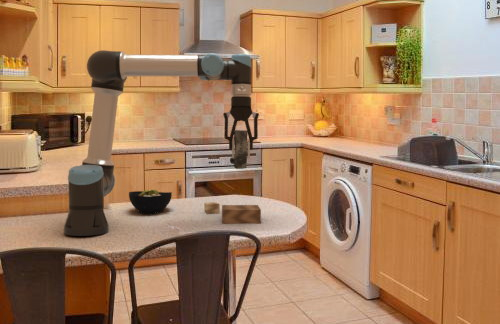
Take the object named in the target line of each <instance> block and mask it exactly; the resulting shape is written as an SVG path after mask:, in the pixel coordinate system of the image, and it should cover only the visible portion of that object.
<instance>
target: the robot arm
mask: <svg viewBox="0 0 500 324" xmlns="http://www.w3.org/2000/svg"><path fill="white" fill-rule="evenodd" d="M86 69H87V74H88V75H89V77H90V78H91V85H90V89H91V90H92V92H93V93H94V98H93V106H92V114H91V123H90V130H89V140H88V147H87V155H86V158H84V159H82V163H81V165H75V166H73V167H70V168H69V170H68V174H67V180H68V214H67V217H66V220H65V221H64V222H65V223H64V226H63V234H64V235H67V236H77V237H80V236H81V237H82V236H84V237H85V236H98V235H103V234H107V233H108V232H109V223H108V220H107V217H106V214H105V211H104V197H106V196H108V194H110V193H111V192H112V191H113V189H114V187H115V183H116V178H115V175H114V169H115V163H114V162H113V161H112V153H113V152H112V151H113V143H114V136H115V135H114V134H115V127H116V117H117V111H118V110H117V109H118V101H119V96H121V95H122V94H123V93H124V87H125V83H126V81H127V79H128V77H199V79H200V80H202V81H231V85H230V90H231V91H230V93H231V96H232V97H231V98H230V110H229V111H227V112H224V113H223V118H224V135H223V136H224V137H223V139H225V140H227V141H228V149H229V150H231V158H232V159H234V154H235V145H234V131H235V130H236V128H237V124H238V122H244V124H245V128H246V131H247V138H248V140H247V154H248V156H247V159H251V155H250V154H251V151H250V150H253V148H254V141H256V140H257V139H258V134H259V133H258V132H259V131H258V119H259V116H260V114H259V112H255V111H253V109H252V97H251V95H252V57H251V56H250V55H249V54H245V53H244V54H243V53H235V54H231V57H230V59H227V60H226V59H223V58H222V56H220V55H219V54H217V53H213V52H211V53H207V54H127V53H126V52H124V51H122V50H121V51H116V50H106V49H104V50H98V51H95V52H94V53H92V54H91V55H90V56H89V57H88V59H87V63H86ZM230 116H231V117H232V118H233V124H232V127H231V131H230V134H228V133H229V118H230ZM251 116H252V118H253V135H252V130H251V127H250V123H249V118H250V117H251Z"/></svg>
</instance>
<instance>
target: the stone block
mask: <svg viewBox="0 0 500 324" xmlns="http://www.w3.org/2000/svg"><path fill="white" fill-rule="evenodd" d="M233 141H234V158H233V167H234V169H237V170H242V169H247V162H248V158H247V156H248V154H247V141H248V133H247V130H245V129H244V130H243V129H242V130H240V129H239V130H238V129H235V131H234V136H233Z"/></svg>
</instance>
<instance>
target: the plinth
mask: <svg viewBox="0 0 500 324" xmlns="http://www.w3.org/2000/svg"><path fill="white" fill-rule="evenodd" d="M261 211H262V210H261V208H260V206H259V205H258V204H221V221H222V224H225V225H226V224H230V225H232V224H234V225H235V224H239V225H241V224H261V221H262V220H261V219H262V218H261V217H262V215H261V213H262V212H261Z"/></svg>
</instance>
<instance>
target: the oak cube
mask: <svg viewBox="0 0 500 324" xmlns="http://www.w3.org/2000/svg"><path fill="white" fill-rule="evenodd" d="M220 205H221V204H220V203H219V202H216V201H215V202H204V210H203V211H205V212H206V213H205V212H204V213H205V214H206V215H212V214H215V213H216V214H220V210H221V208H220ZM216 214H215V215H216Z"/></svg>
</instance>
